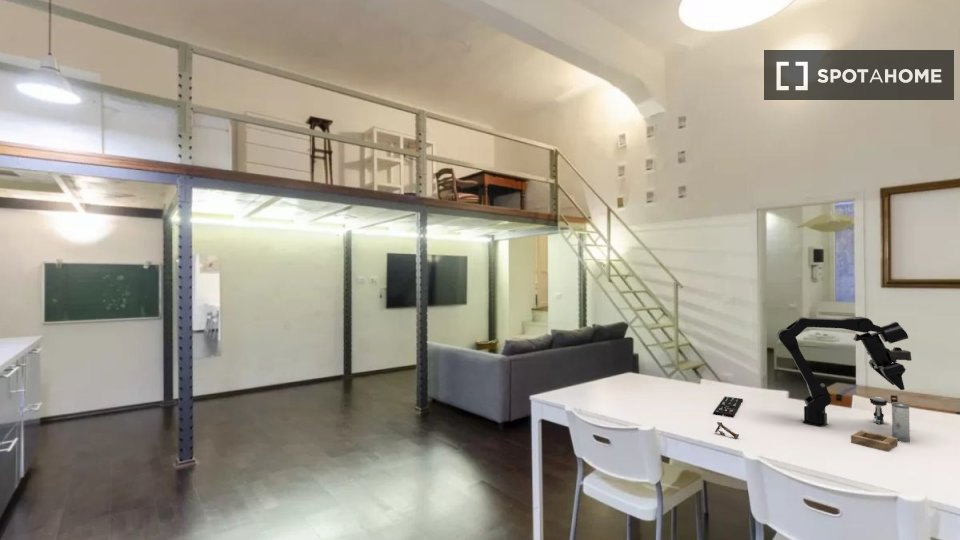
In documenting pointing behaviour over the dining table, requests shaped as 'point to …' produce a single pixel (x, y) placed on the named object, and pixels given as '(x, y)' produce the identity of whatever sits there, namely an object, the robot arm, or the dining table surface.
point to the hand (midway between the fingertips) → (898, 387)
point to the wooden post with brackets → (726, 430)
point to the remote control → (728, 407)
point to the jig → (874, 440)
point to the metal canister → (900, 421)
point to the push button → (878, 408)
